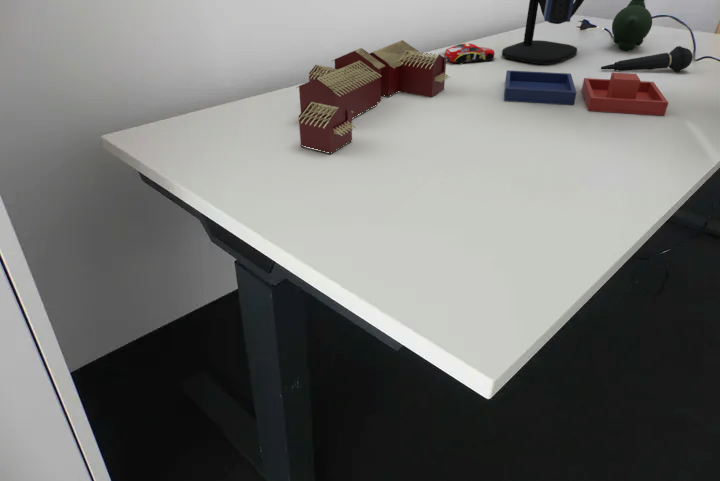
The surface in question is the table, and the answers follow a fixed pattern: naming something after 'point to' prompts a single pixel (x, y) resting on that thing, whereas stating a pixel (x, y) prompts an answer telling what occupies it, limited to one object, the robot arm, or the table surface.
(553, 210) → the table surface
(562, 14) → the robot arm
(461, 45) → the race car
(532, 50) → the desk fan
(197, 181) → the table surface
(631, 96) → the red block
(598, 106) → the red tray
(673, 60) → the microphone
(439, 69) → the toy houses
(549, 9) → the navy block
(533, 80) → the navy tray
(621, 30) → the toy figurine
